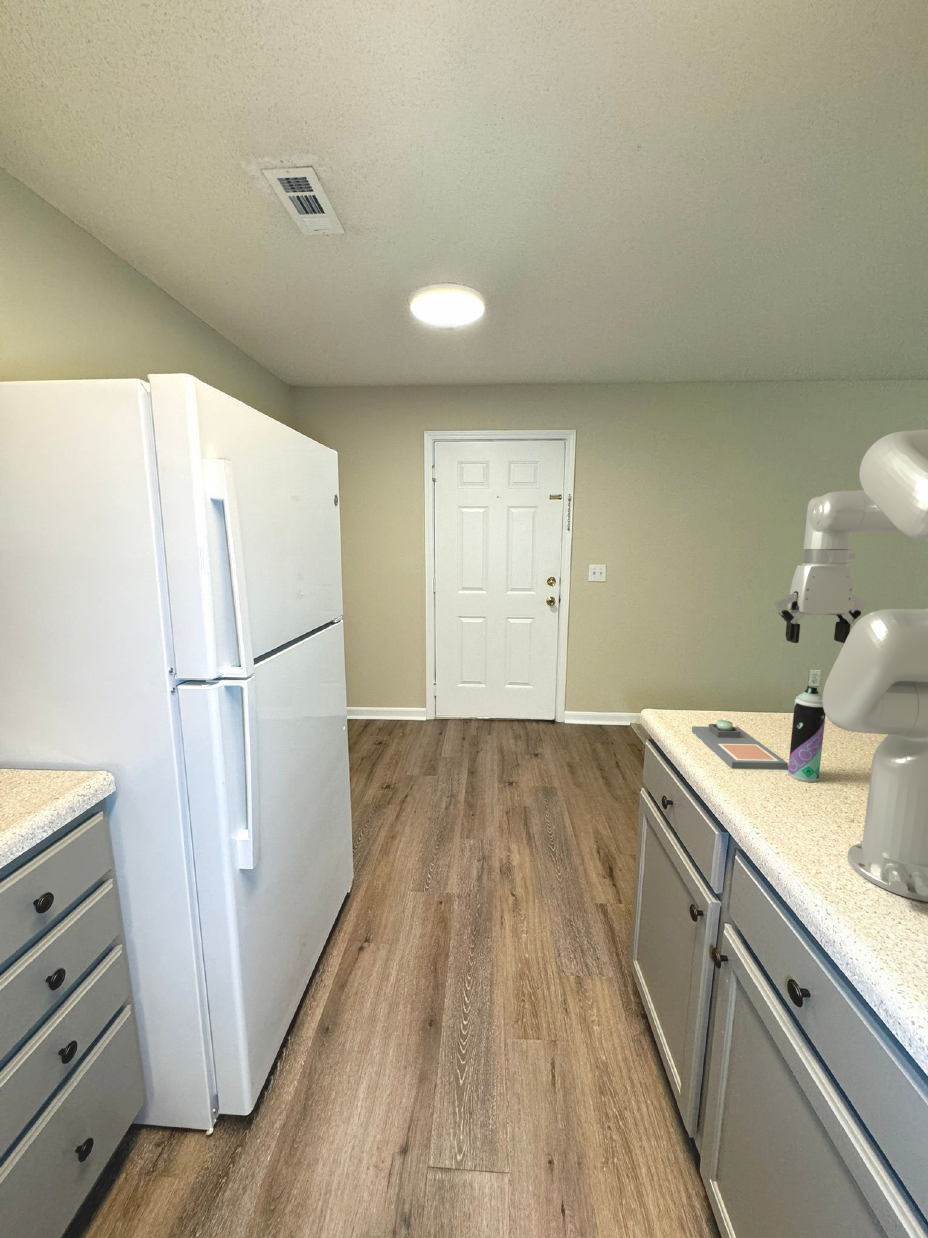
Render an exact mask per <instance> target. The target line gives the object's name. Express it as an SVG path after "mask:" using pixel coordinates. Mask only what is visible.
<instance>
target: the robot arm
mask: <svg viewBox="0 0 928 1238" xmlns="http://www.w3.org/2000/svg"><path fill="white" fill-rule="evenodd" d="M859 482H860V485H861V487H862V489H861V490H860V489H859V490H842V491H830V492H828V493H827V492H826V494H823V495H822V496H815V497H813V498H811V499H810V500H809V502H808V504H807V508H806V509H807V510H806V518H805V519H806V521H805V530H804V531H805V532H804V542H803V551H802V563H801V564H800V565H799V564H798V565H797V566H796V569H795V572H794V574H793V578H792V581H791V585H790V591H789V594H788V595H786V596H785V597H782V598H780V599H777V600H776V601H775V606H776V609H777V611H778V615H779V616H780V617H781V618H782V619H783V620H784V623H785V622H786V625H785V638H786V639H785V640H786V642H789V643H790V642H791V643H794V644H797V643H799V642H800V632H801V624H800V623H798V622H800V620H802V619H803V617H805V616H806V615H807V616H808V615H809V616H814V615H815V616H826V615H827V616H835V617H836V618H837V619H838V621H836V622H835V625H834V626H835V627H834V634H833V635H834V637H833V640H834V641H835V642H838V643H842V644H843V646H842V648H841V649H840V652H839V653H838V656H837V658H836V660H835V662H834V664H833V666H832V668H831V670H830V673H829V675H828V676H827V678H826V682H825V684H824V687H823V692H822V697H823V701H822V702H823V709H824V712H825V714H826V715H825V717H826V718H827V719H828V720H829V722H830V723H832V725H834V726H835V727H838V728H840V729H841V730H845V731H848V732H853V733H862V734H863V733H864V734H875V735H876V734H877V735H886V736H885V737H884V739H883V740H881V742H880V743H879V744H878V746H877V748H876V749H875V751H874V753H873V757H872V761H871V771H870V779H869V785H868V794H867V802H866V809H865V810H866V811H865V819H864V826H863V835H862V842H860V843H857V844H853V845H851V846H850V847H849V849H848V851H847V861H848V863H849V865H850V866H851V867H852V868H853V870H854V871H856V873H858V874H859V875H861V876H862V877H863V878H864V879H866V880H868V882H870V883H873V884H874V885H875V886H878V887H879V888H881V889H884V890H887V892H888V891H889V892H891V893H894V894H896V895H899V896H902V897H905V898H908V899H912V900H916V901H921V902H926V903H928V607H927V608H922V609H921V608H918V609H917V608H913V609H910V608H908V609H907V608H887V609H879V610H876V611H872V612H869V613H867V614H865V615H863V617H861V618H860V619H859V620H857V621H855V620H856V619H858V618H859V617H860V616H861V615H862V612H863V610H864V609H865V607H866V606H867V602H866V601H865V600H863V599H861V598H859V597H857V596H855V595H854V594H853V584H854V583H853V571H852V567H851V565H849V561H850V560H854V558H855V554H854V552H851V551H850V548H851V541H852V540H851V539H852V533H891V532H897V531H900V532H902V533H903V534H905V536H908V537H910V538H912V539H916V540H922V541H923V540H924V541H928V429H919V430H918V429H916V430H915V429H913V430H901V431H896V432H892V433H889V434H887V435H884V436H883V437H880V438H879V439H877V440H876V442H873V444H872V445H871V446H869V448H868V449H867V451H866V452H865V454H864V456H863V458H862V460H861V463H860V467H859ZM852 605H853V606H852ZM787 607H788V608H787ZM852 624H853V627H852V628H851V625H852Z"/></svg>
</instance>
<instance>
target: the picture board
mask: <svg viewBox="0 0 928 1238" xmlns="http://www.w3.org/2000/svg"><path fill="white" fill-rule="evenodd" d="M716 727H717V723H709V724H708V726H700V725H699V726H698V725H697V726H696V725H695V726H694V725H693V726H691V733H692V734H694V735H695V734H696V735H695V736H696V737H697V738H698V737H699V738H698V739H699V740H700V739H701V740H702V741H703V742H704V745H706V746H707V748H709V749H710V751H712V752H713V753H714V752H715V753H714V754H715V755H717V757H719V758H720V759H721V760H722V761H723V762H724V763H725V764H726V765H727V766H728V767H729V768H731V769H734V770H735V769H737V770H738V769H739V770H740V769H741V770H743V769H747V770H749V769H750V770H788V767H789V762H787V761H786V760H784V759H783V758H782V757H780V756H779V755H777V754H776V753H774V752H773V751H772V750H771V749H770V748H768V747H767V746H765V745H764V744H762V743H761V742H759V741H758V740H757V739H755V737H753V736H751V735H750V734H749V733H747V732H746V731H744V730H743V729H741V728H740V727H739V726H733V727H732V731H722V730H719V729H717V728H716ZM701 740H700V741H701ZM702 741H701V742H702ZM703 742H702V743H703Z"/></svg>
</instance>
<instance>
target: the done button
mask: <svg viewBox="0 0 928 1238" xmlns="http://www.w3.org/2000/svg"><path fill="white" fill-rule="evenodd" d="M716 724H717V727H716V728H717V729H719V730H722V731H732V727H734V726H733V725H734V724H733V722H731V721H730V720H724V719H718V720H717V721H716Z"/></svg>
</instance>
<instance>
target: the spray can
mask: <svg viewBox="0 0 928 1238" xmlns="http://www.w3.org/2000/svg"><path fill="white" fill-rule="evenodd" d="M820 694H821V693H819V691H818V687H815V686H810V685H807V687H806V689H805V690H804V691H803V692H801V693H799V694H796V695H795V699H794V705H793V717H792V727H791V737H790V747H789V758H788V766H787V774H788V776H789V777H790V778H793V779H794V780H797V781H800V782H804V783H817V782H818V781H819V778H820V772H821V771H820V770H821V761H822V752H823V742H824V733H825V732H824V731H825V723H826V714H825V712H824V709H823V702H822V701H823V695H820Z"/></svg>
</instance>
